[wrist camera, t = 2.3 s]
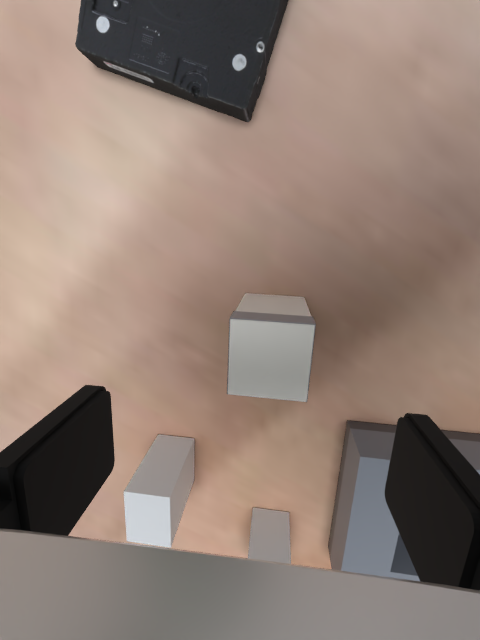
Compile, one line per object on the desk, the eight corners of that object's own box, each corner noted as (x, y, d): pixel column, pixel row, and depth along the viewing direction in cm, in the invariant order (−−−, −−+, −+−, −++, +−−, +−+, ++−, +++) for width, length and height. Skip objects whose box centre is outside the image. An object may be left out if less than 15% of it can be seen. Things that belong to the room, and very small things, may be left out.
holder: (523, 438, 23) (573, 480, 19) (481, 568, 26) (516, 627, 22) (347, 420, 24) (360, 456, 20) (328, 546, 27) (336, 598, 23)
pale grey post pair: (295, 449, 25) (300, 515, 19) (285, 549, 28) (286, 633, 22) (158, 434, 26) (123, 491, 20) (160, 531, 29) (131, 606, 23)
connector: (304, 296, 22) (316, 324, 15) (299, 352, 23) (307, 403, 16) (244, 292, 22) (229, 318, 15) (241, 348, 23) (226, 394, 17)
